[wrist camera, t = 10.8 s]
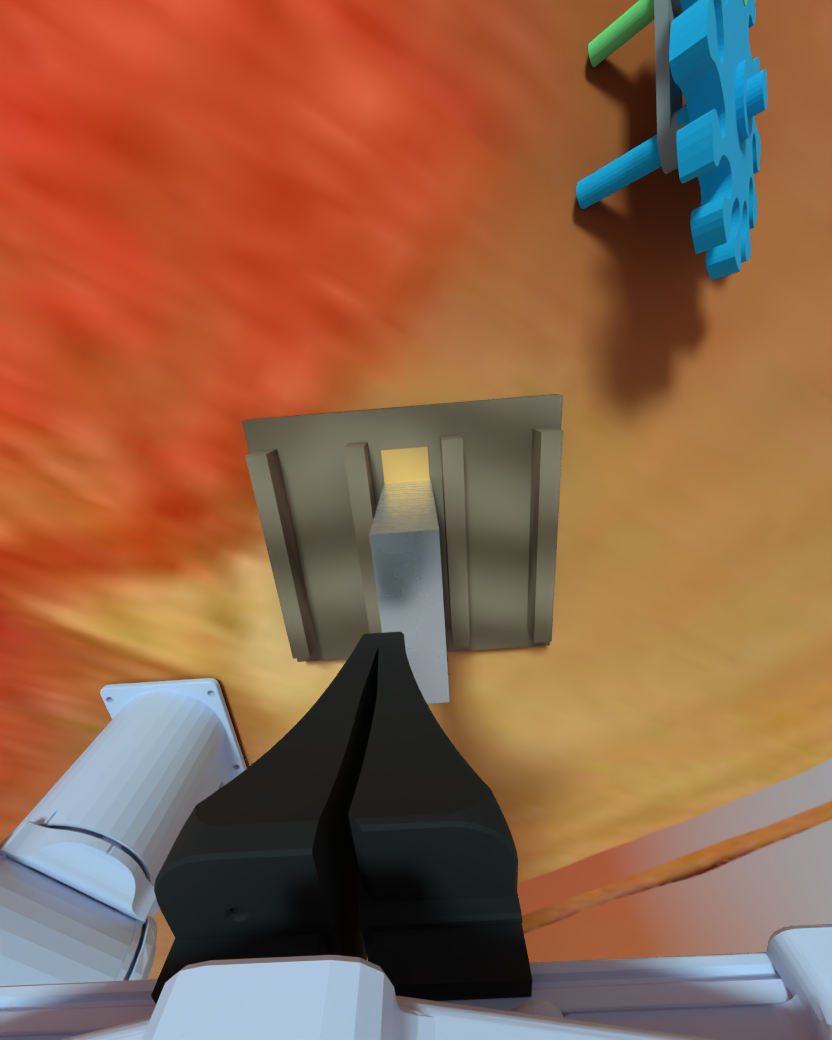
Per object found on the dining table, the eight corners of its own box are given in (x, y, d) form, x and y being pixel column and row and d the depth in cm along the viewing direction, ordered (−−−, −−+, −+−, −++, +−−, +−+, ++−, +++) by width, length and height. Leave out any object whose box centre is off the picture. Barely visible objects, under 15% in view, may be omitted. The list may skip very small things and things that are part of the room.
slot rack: (544, 635, 25) (561, 667, 22) (302, 651, 25) (287, 685, 22) (555, 394, 20) (579, 396, 17) (250, 419, 20) (223, 425, 17)
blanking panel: (439, 609, 23) (449, 702, 16) (398, 612, 23) (391, 705, 16) (431, 480, 20) (439, 529, 14) (384, 483, 20) (369, 534, 14)
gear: (774, 282, 17) (737, 228, 10) (626, 326, 21) (533, 308, 14) (786, -43, 14) (746, -388, 8) (616, 83, 19) (499, -71, 12)
